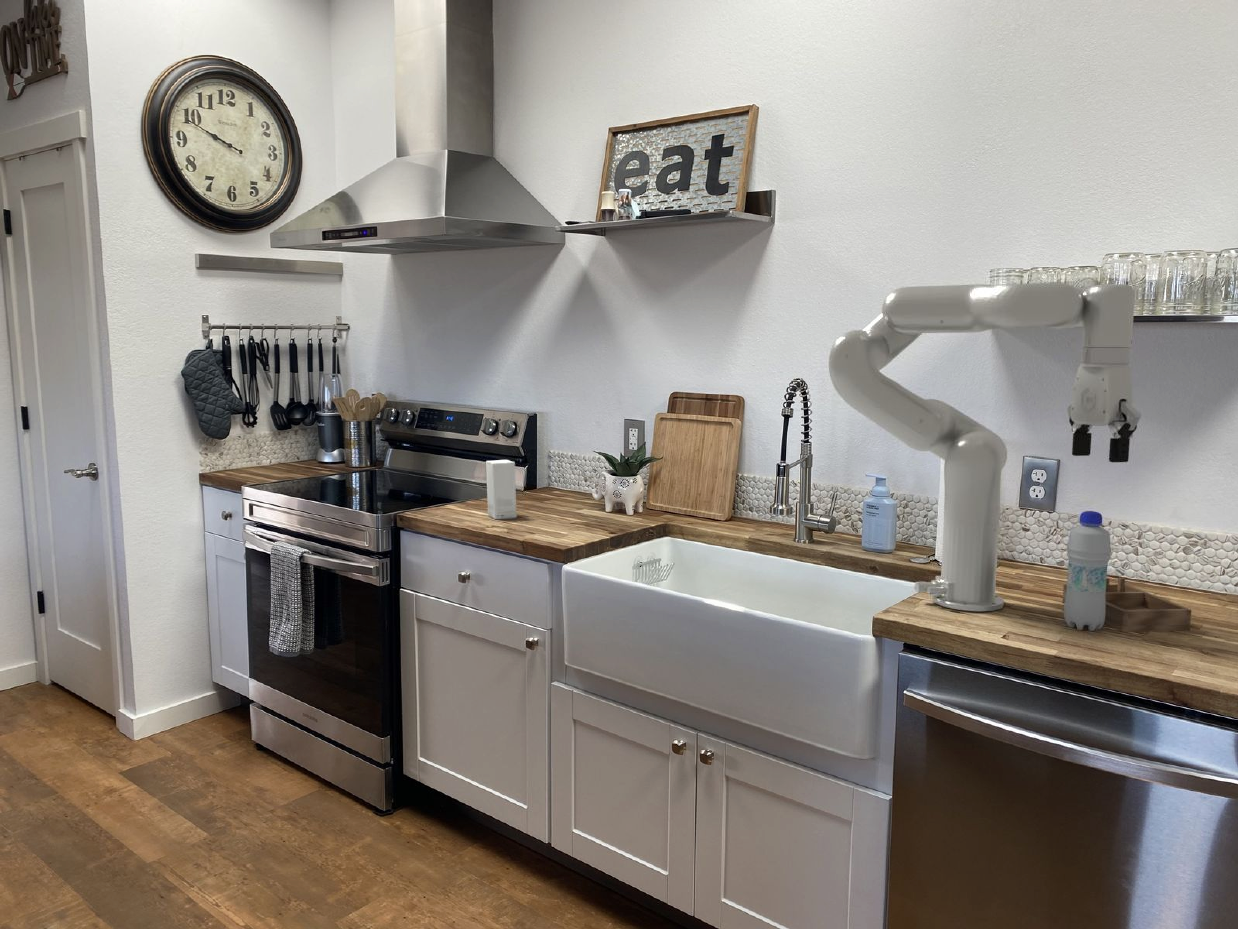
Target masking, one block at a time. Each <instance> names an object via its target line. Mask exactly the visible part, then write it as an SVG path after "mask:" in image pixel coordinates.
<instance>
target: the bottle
mask: <svg viewBox="0 0 1238 929" xmlns="http://www.w3.org/2000/svg"><path fill="white" fill-rule="evenodd" d="M1102 526H1103V516H1102V513H1100V512H1098V511H1093V510H1085V511H1082V512H1081V513H1080V516H1079V525H1077V526H1074V527H1072V528H1071V529H1070V531H1069V536H1068V541H1067V546H1066V549H1067V552H1066V555H1067V558H1068V563H1067V566H1068V567H1067V581H1066V584H1067V591H1066V598H1065V604H1064V607H1063V617H1064V621H1065V623H1066V624H1067V626H1068V627H1069V628H1075V625H1076V628H1077V630H1079V631H1083V629H1084V626H1088V629H1087V630H1088V631H1089V632H1093V631H1095V630H1096V631H1100V629H1102V628H1103V626H1104V624H1105V623H1104V621H1105V592H1106V579H1107V578H1108V577H1107V575H1108V563H1109V561H1110V560H1111V552H1112V545H1111V544H1112V543H1111V534H1110V531H1108V530H1107V529H1106V528H1104V527H1102Z"/></svg>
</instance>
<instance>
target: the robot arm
mask: <svg viewBox="0 0 1238 929" xmlns="http://www.w3.org/2000/svg"><path fill="white" fill-rule="evenodd" d="M1135 301H1136V292H1135V289H1134V287H1132V286H1131V285H1128V284H1123V283H1121V284H1120V283H1115V284H1114V283H1110V284H1109V283H1108V284H1107V283H1106V284H1096V285H1091V286H1090V287H1077V286H1076V287H1075V286H1072V285H1070V284H1068V283H1064V282H1037V283H1036V282H1033V283H1007V284H985V283H984V284H982V283H981V284H979V283H977V284H976V283H975V284H955V285H954V284H953V285H949V284H948V285H922V286H921V285H920V286H905V287H898V288H896V289H893V290H891V291H890V293H888V294H887V295H886V297H885V298H884V300H883V303H882V307H881V313H880V314H879V315H878V316H877V317H875V319H873V320H872V321H871V322H870V323H869V324H868V325H867V326H866V327H865V328H862V330H861V329H856V330H849V331H847V332H845V333H843V334H841V335H840V336H839V337H837V339H836V340H835V341H834V342H833V345H832V347H831V348H830V352H829V357H828V371H829V377H830V379H831V383H832V385H833V387H834V389H835V391H836V392H837V394H838V395H839V396H840V397H841V398H842V399H843V401H844V402H845V403H846V404H847V405H848V406H850V407H852V408H853V409H854V410H855V411H857V412H858V413H859V414H861V415H862V416H864V417H865V418H866V419H869V420H870V421H872V422H873V423H875V425H877V426H879V427H880V428H881V429H883V430H884V431H886V432H887V433H888V434H890V435H892V436H894V437H895V438H896V439H898V440H899V441H901V442H902V443H904V444H905V445H906V446H908V447H909V448H911V449H912V450H915V451H917V452H918V451H919V452H931V453H932V454H934V455H935V456H936V457H938V458H940V459H941V460H943V461H944V464H943V465H944V466H943V469H944V471H943V472H944V473H943V476H944V478H943V479H944V501H943V502H944V505H943V528H942V529H943V531H942V548H941V551H942V552H941V553H942V554H941V567H940V568H941V572H940V575H935V579H932V580H931V581H927V582H926V581H915V583H914V590H915V592H916V593H927V594H928V595H931V596H930V597H931V598H930V599H931V601H932V602H933V604H936V605H938V606H941V607H944V608H948V609H952V610H956V611H957V610H958V611H965V612H993V611H998V610H1000V609H1002V608H1004V604H1005V602H1004V599H1003V597H1001V596H999V595H997V594H996V585H997V584H996V583H997V570H998V569H997V567H998V566H997V563H998V550H999V548H998V546H999V530H1000V529H999V528H1000V511H1001V509H1000V508H1001V482H1002V480H1001V479H1002V471H1003V468H1005V466H1006V463H1007V460H1008V449H1007V445H1006V444H1005V442H1004V441H1003V439H1002V438H1001V437H1000V436H999V435H998V434H997V433H996V432H994V431H992V430H991V429H989V428H987V427H986V426H984V425H983V424H981V423H980V422H978V421H976V420H974V419H973V418H971V417H970V416H968V415H966V413H963V412H962V411H960V410H958V409H957V408H955V407H953V406H952V405H950V404H948V403H947V402H944V401H942V400H939V399H933V398H927V399H926V398H922V396H921V397H920V396H919V395H917V394H916V393H914V392H912V391H911V390H910V389H907V388H905V387H904V386H902V385H901V384H900V383H898V382H896V381H895V380H893V379H891V378H890V377H889V376H886V375H884V374H883V373H882V372H881V370H882V369H883V368H885V367H887V366H888V364H890V363H891V362H892V361H893V360H895V358H897V357H898V356H899V355H900V354H901V353H902V352H903V351H905V350H906V349H907V348H908V347H909V346H911V345H912V344H913V343H914V342H915V341H916V340H917V339H919V337H920V336H921V335H922V334H939V333H940V334H943V333H944V334H945V333H947V334H951V333H953V334H955V333H958V334H961V333H965V334H967V333H970V334H971V333H981V332H986V331H990V330H991V331H992V330H999V329H1000V330H1003V329H1005V330H1006V329H1053V330H1065V329H1071V328H1076V327H1077V328H1080V327H1082V334H1081V335H1082V338H1081V353H1080V366H1078V368H1077V371H1076V376H1075V380H1074V384H1073V391H1072V399H1071V405H1069V406H1067V409H1066V410H1067V413H1068V418H1069V419H1068V422H1069V424H1070V425H1071V428H1070V431H1071V433H1072V444H1071V445H1072V446H1071V447H1072V449H1071V455H1072V456H1074V457H1075V456H1076V457H1081V456H1082V457H1086V456H1087V457H1089V456H1090V455H1091V448H1092V432H1090V431H1091V430H1092V427H1093V426H1097V427H1105V426H1108V429H1109V430H1110V432H1111V435H1112V436H1113V437H1110V438H1109V439H1110V441H1109V449H1108V450H1109V453H1108V462H1110V463H1128V462H1129V459H1130V458H1129V455H1130V454H1129V453H1130V442H1131V440H1130V439H1132V438H1133V436H1134V433H1135V431H1136V430H1137V428H1138V423H1139V421H1140V418H1141V417H1142V414H1141V412H1140V411H1138V410H1137V409H1136V408H1135V407H1134V406H1133V380H1132V378H1133V376H1132V369H1131V358H1132V345H1133V330H1134V329H1133V327H1134V325H1133V324H1134V316H1135V315H1134V314H1135Z"/></svg>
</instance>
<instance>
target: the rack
mask: <svg viewBox="0 0 1238 929" xmlns="http://www.w3.org/2000/svg"><path fill="white" fill-rule="evenodd" d="M1062 591H1063V592H1062V604H1064V605H1065V598H1066V591H1067V583H1066V584H1064V583H1063V588H1062ZM1191 619H1192V609H1190V608H1187V607H1185V606H1182V605H1181V604H1178V603H1175V602H1172V601H1170V600H1168V599H1165V598H1163V597H1160V596H1157V595H1155V594H1152V593H1149V592H1147V591H1145V590H1142V589H1139V588H1137V587H1135V586H1132V585H1131V584H1127V583H1126V578H1124V577H1117V583H1110V578H1108V577H1107V579H1106V592H1105V621H1104V624H1105V625H1108V626H1109V627H1112V628H1114V629H1116V630H1118V631H1120V632H1122V633H1128V632H1129V633H1131V632H1135V633H1136V632H1169V631H1170V632H1171V631H1173V632H1174V631H1176V632H1178V631H1180V632H1181V631H1190V630H1191V622H1192V620H1191Z"/></svg>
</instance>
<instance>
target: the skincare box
mask: <svg viewBox="0 0 1238 929" xmlns="http://www.w3.org/2000/svg"><path fill="white" fill-rule="evenodd" d="M485 465H486V466H485V470H486V474H485V475H486V494H487V499H486V500H487V516H488V517H491V518H492V519H494V520H507V519H508V520H509V519H510V520H511V519H517V518H518V517H517V493H516V492H517V491H516V490H517V489H516V462H515V461H511V460H509V459H499V460H498V459H497V460H486V461H485Z"/></svg>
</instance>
